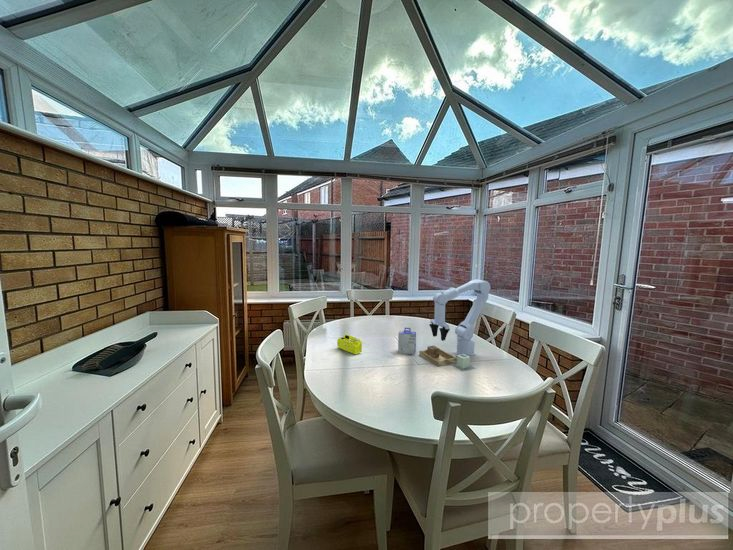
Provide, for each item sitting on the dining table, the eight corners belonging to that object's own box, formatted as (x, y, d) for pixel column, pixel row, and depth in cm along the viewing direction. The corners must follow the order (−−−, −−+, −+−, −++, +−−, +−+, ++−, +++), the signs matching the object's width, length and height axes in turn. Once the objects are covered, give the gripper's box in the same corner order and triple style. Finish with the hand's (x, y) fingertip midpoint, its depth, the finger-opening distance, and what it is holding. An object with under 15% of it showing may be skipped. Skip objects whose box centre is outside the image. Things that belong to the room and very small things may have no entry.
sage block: (456, 365, 155) (456, 355, 154) (463, 364, 157) (463, 353, 156) (462, 368, 151) (463, 358, 150) (469, 367, 153) (469, 356, 152)
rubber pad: (464, 362, 160) (464, 361, 160) (476, 369, 152) (476, 368, 151) (450, 365, 156) (450, 364, 156) (462, 372, 148) (462, 371, 148)
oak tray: (437, 352, 174) (437, 347, 174) (456, 363, 159) (457, 358, 158) (419, 356, 169) (419, 350, 169) (437, 367, 154) (437, 361, 153)
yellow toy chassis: (362, 353, 173) (362, 339, 172) (355, 356, 169) (354, 341, 168) (344, 346, 185) (344, 333, 184) (337, 348, 181) (337, 335, 180)
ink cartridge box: (415, 351, 175) (416, 327, 174) (415, 355, 170) (415, 330, 168) (399, 350, 178) (399, 326, 176) (397, 353, 173) (398, 329, 171)
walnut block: (433, 353, 171) (434, 345, 170) (439, 357, 166) (439, 348, 165) (427, 355, 169) (427, 346, 168) (432, 358, 164) (432, 349, 164)
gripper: (426, 312, 172) (425, 335, 173) (441, 318, 159) (441, 343, 160) (436, 311, 175) (435, 333, 176) (452, 317, 161) (451, 341, 163)
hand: (438, 338), depth 168 cm, fingers open, 7 cm apart
